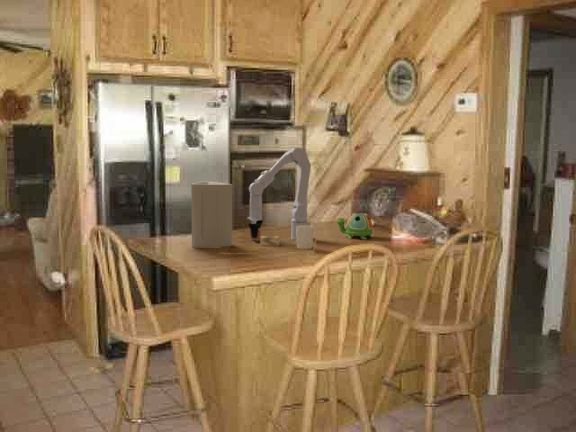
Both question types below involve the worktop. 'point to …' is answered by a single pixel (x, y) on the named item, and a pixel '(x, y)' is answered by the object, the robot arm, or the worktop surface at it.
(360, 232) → the turtle holder
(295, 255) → the worktop surface
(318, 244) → the worktop surface
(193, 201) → the ribbed grey pillar
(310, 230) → the white cup
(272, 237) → the maple brick
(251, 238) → the rust block
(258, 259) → the worktop surface
